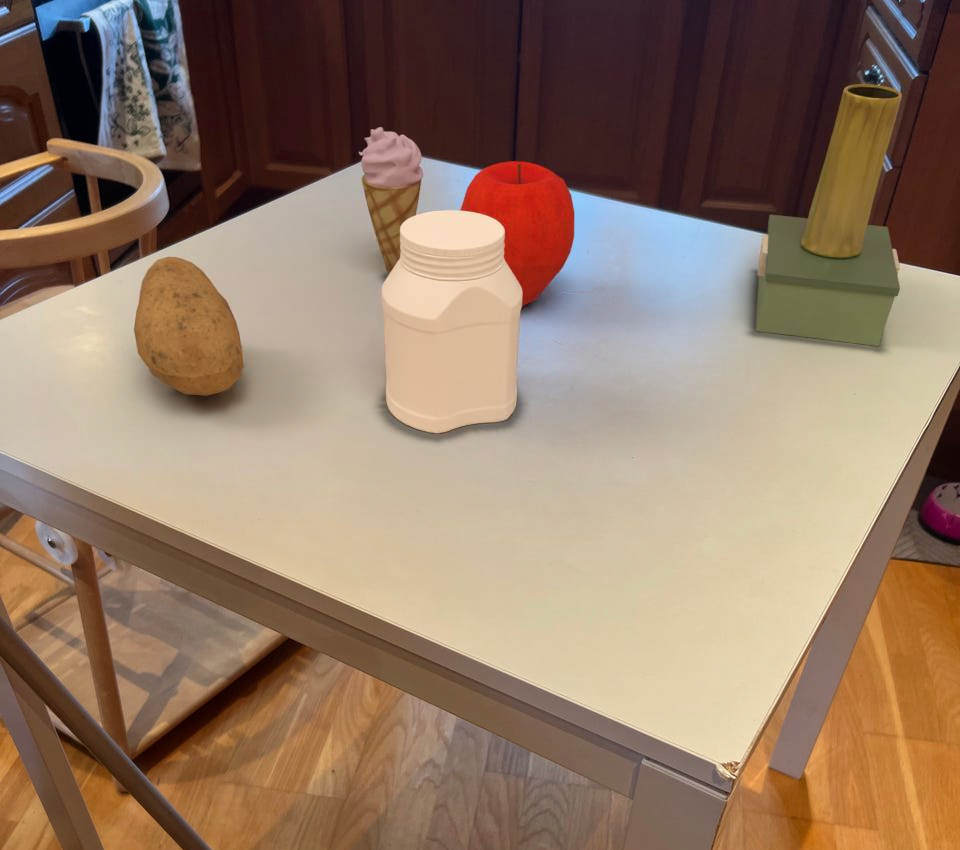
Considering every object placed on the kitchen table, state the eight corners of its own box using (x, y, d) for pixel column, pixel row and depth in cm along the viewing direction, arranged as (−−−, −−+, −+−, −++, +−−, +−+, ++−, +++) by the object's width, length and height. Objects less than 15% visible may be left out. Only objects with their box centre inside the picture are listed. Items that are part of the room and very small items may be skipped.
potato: (152, 432, 81) (127, 326, 74) (141, 349, 92) (119, 250, 85) (256, 418, 83) (241, 314, 77) (234, 339, 94) (218, 241, 87)
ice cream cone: (352, 272, 106) (342, 122, 96) (395, 257, 109) (390, 111, 99) (392, 291, 102) (386, 138, 92) (435, 276, 106) (434, 125, 95)
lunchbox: (875, 282, 107) (892, 227, 103) (886, 348, 96) (905, 288, 91) (753, 268, 109) (765, 213, 105) (748, 331, 98) (761, 272, 94)
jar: (490, 366, 91) (496, 200, 80) (532, 415, 84) (545, 242, 74) (372, 386, 87) (363, 215, 77) (407, 439, 81) (402, 261, 71)
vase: (855, 238, 101) (899, 84, 91) (867, 261, 96) (914, 102, 86) (796, 234, 101) (833, 80, 91) (804, 257, 96) (845, 98, 87)
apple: (590, 314, 100) (605, 177, 90) (487, 334, 96) (492, 192, 87) (536, 271, 107) (545, 141, 98) (439, 288, 103) (438, 153, 94)
